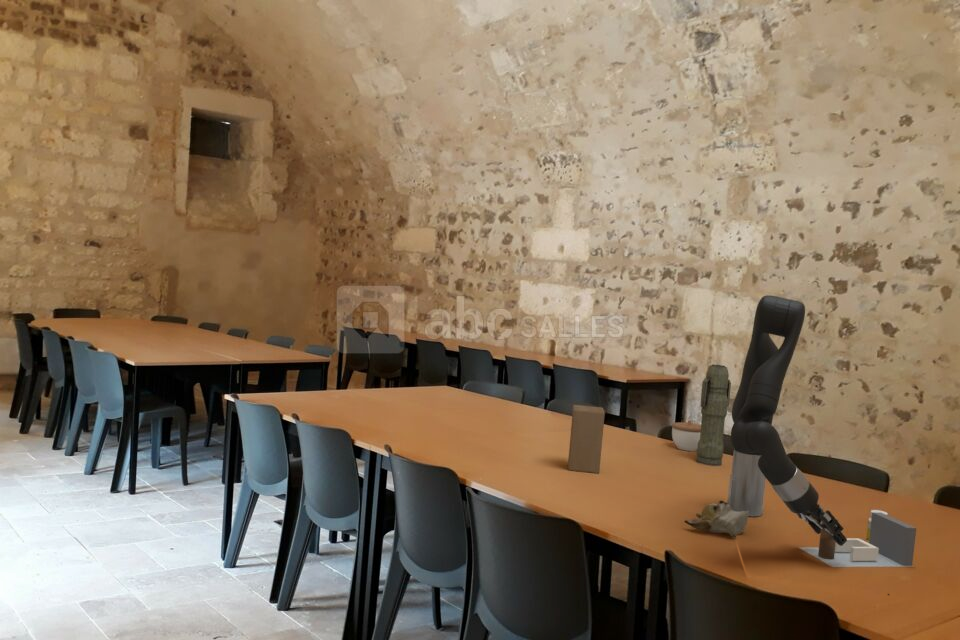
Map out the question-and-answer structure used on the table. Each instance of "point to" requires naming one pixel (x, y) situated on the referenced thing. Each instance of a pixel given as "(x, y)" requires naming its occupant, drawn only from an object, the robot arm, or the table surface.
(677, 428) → the lidded bowl
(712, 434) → the olive green tall piece
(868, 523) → the supplement bottle
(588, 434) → the wooden block
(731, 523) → the ceramic sculpture
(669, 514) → the table surface
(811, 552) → the board with wall
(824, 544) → the dowel
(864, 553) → the cradle
